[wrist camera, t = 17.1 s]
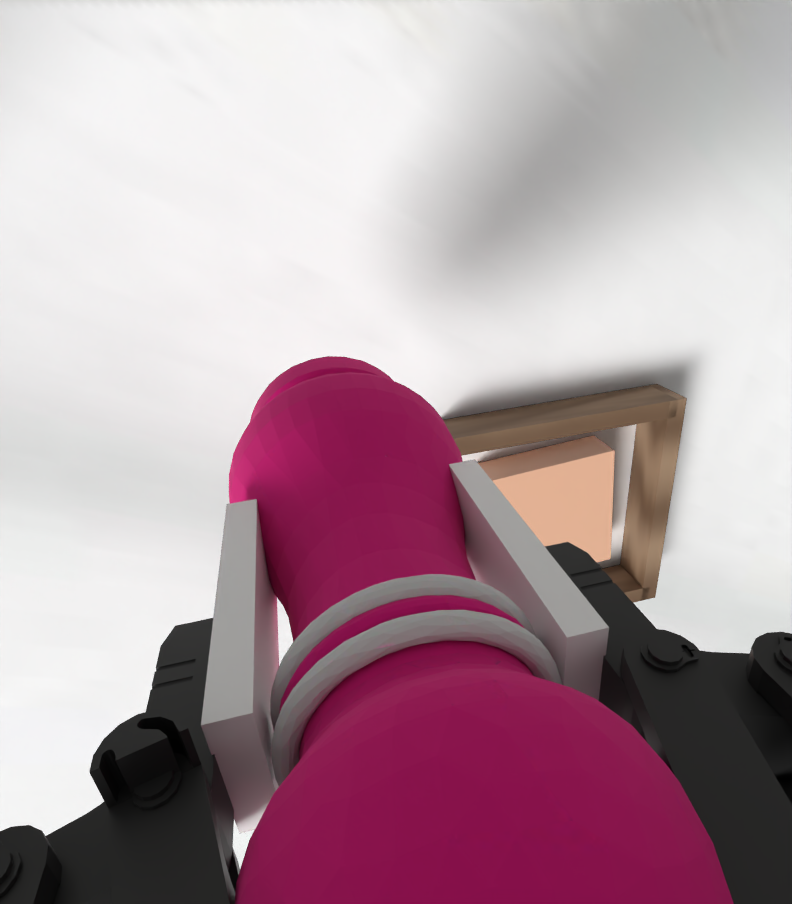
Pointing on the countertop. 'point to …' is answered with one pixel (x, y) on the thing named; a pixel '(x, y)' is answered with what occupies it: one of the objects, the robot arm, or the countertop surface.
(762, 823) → the robot arm
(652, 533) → the walnut frame
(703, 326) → the countertop surface
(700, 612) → the countertop surface
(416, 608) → the pepper mill
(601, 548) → the terracotta tile
